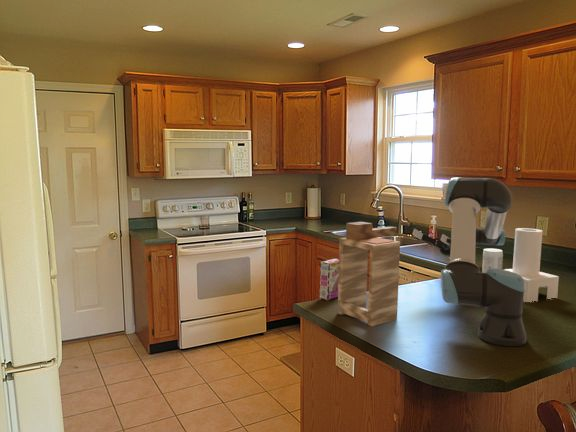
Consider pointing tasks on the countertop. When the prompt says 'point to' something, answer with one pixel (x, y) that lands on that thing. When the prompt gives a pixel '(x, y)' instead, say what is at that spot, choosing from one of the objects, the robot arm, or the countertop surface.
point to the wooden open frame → (380, 280)
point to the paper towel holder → (532, 264)
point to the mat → (377, 241)
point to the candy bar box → (329, 279)
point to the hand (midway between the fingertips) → (427, 234)
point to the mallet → (367, 231)
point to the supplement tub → (492, 259)
